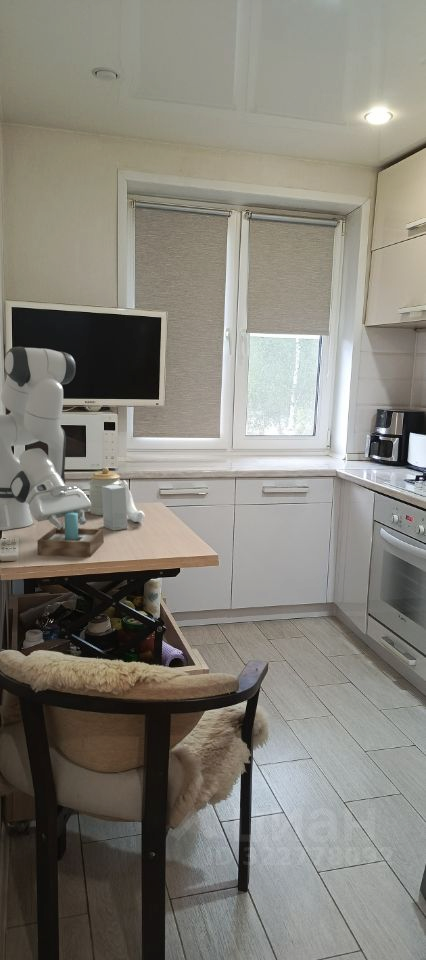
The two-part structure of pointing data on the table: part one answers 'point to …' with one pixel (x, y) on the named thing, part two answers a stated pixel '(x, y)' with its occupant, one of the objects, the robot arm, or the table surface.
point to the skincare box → (114, 507)
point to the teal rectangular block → (71, 526)
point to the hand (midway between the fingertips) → (72, 525)
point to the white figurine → (132, 507)
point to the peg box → (71, 543)
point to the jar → (96, 488)
